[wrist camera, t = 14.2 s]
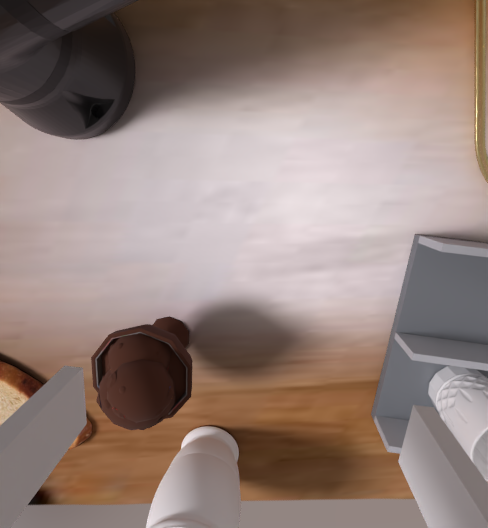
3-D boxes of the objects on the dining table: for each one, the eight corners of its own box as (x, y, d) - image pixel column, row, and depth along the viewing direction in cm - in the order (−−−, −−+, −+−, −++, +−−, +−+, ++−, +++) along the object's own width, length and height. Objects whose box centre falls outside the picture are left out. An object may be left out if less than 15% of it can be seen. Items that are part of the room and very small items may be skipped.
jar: (200, 405, 45) (165, 510, 30) (260, 444, 45) (255, 566, 31) (162, 454, 47) (113, 573, 33) (219, 490, 48) (197, 623, 33)
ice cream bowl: (141, 285, 41) (70, 339, 27) (221, 317, 41) (194, 388, 27) (119, 353, 44) (44, 437, 29) (195, 383, 44) (157, 481, 29)
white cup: (413, 407, 41) (458, 477, 31) (434, 352, 39) (489, 409, 29) (476, 421, 40) (540, 495, 31) (500, 366, 38) (577, 428, 29)
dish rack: (415, 234, 37) (443, 243, 31) (579, 253, 36) (641, 267, 30) (371, 414, 43) (387, 451, 37) (510, 435, 42) (551, 477, 36)
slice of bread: (99, 440, 48) (85, 460, 44) (-4, 454, 50) (-26, 475, 47) (57, 332, 44) (38, 345, 41) (-52, 353, 47) (-80, 367, 43)
